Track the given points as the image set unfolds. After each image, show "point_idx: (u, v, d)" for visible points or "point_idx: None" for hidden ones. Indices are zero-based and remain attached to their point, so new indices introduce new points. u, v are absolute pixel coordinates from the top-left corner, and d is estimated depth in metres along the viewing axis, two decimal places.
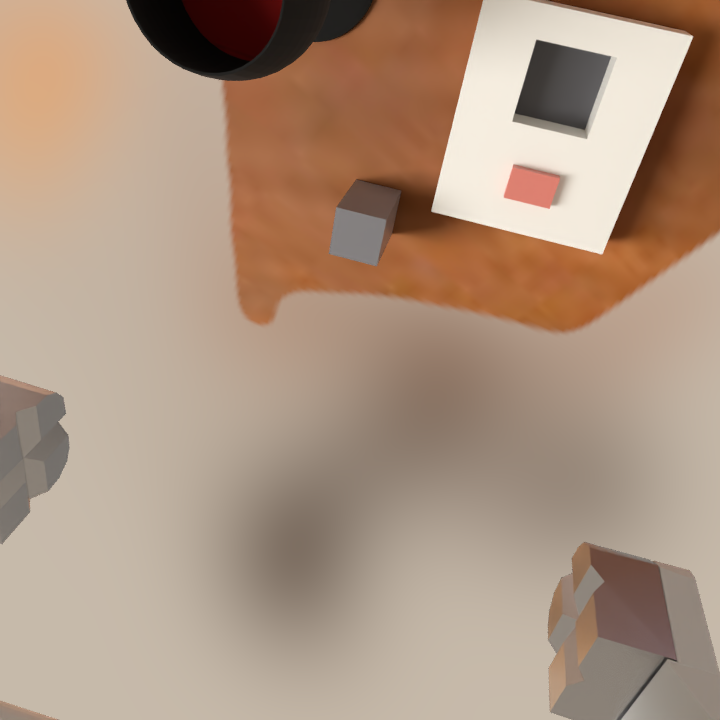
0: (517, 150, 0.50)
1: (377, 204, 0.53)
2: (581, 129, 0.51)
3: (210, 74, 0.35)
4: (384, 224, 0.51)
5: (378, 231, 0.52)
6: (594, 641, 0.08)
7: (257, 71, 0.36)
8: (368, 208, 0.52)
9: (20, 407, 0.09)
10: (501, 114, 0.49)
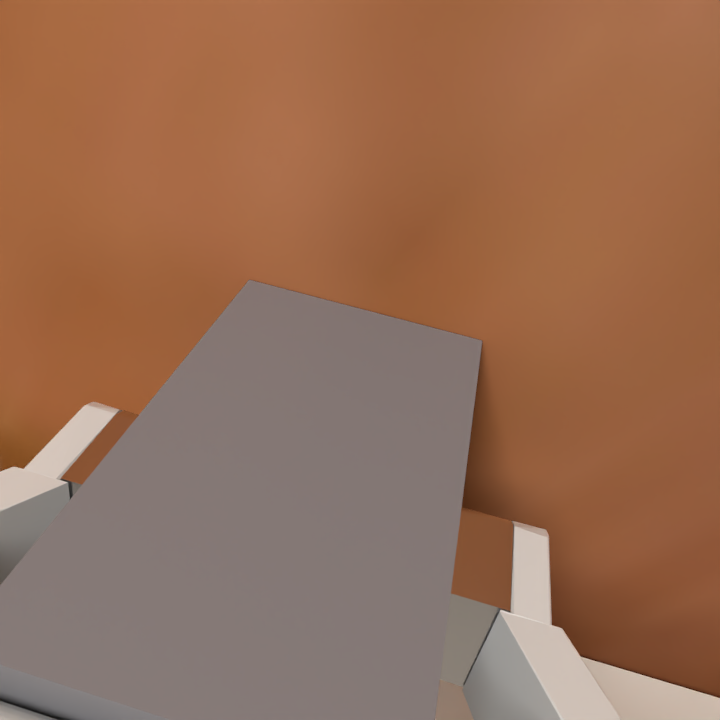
0: None
1: None
2: None
3: None
4: None
5: None
6: None
7: None
8: None
9: None
10: None
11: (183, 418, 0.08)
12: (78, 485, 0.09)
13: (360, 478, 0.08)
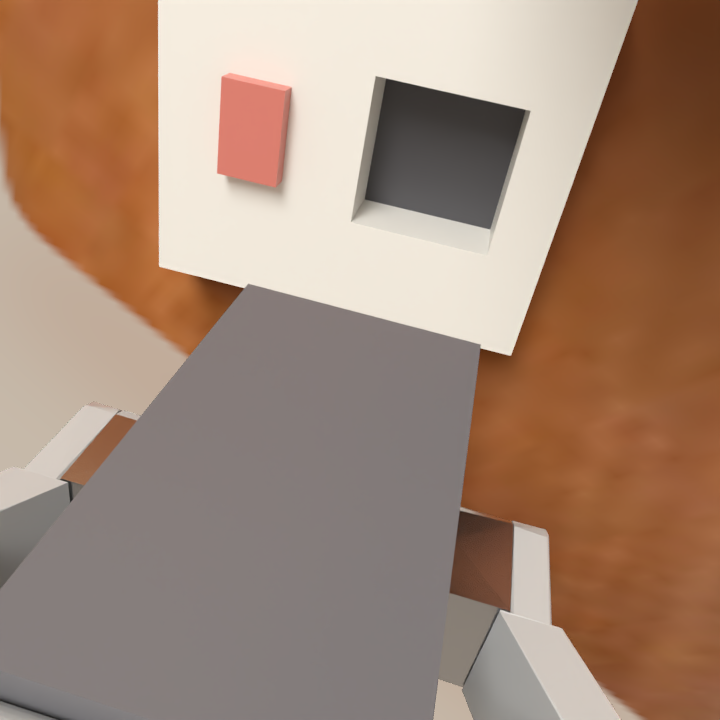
0: (319, 93, 0.24)
1: None
2: (365, 194, 0.29)
3: None
4: None
5: None
6: None
7: None
8: None
9: None
10: (388, 51, 0.23)
11: (182, 423, 0.08)
12: (78, 485, 0.09)
13: (359, 483, 0.08)
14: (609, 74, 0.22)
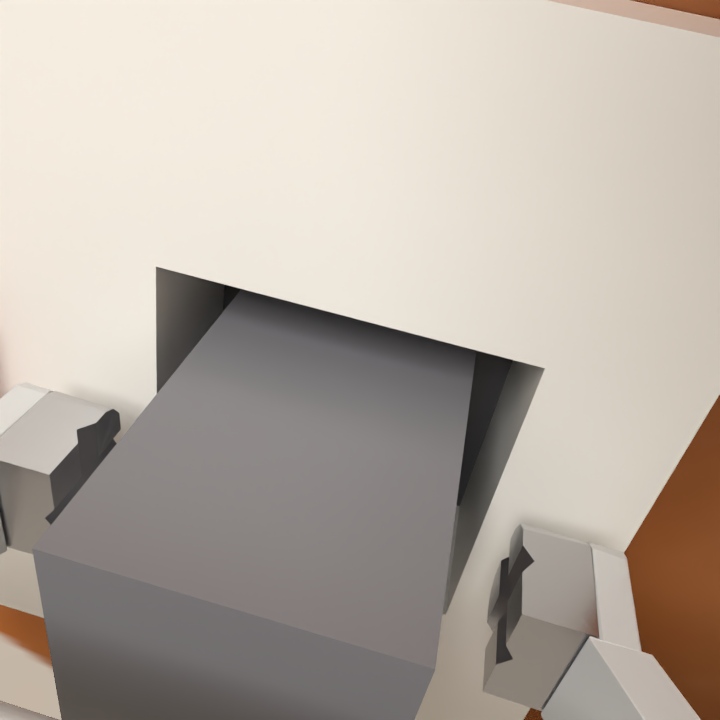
0: (37, 293, 0.10)
1: None
2: None
3: None
4: None
5: None
6: (519, 618, 0.08)
7: None
8: None
9: (80, 424, 0.09)
10: (177, 213, 0.09)
11: (215, 373, 0.09)
12: None
13: (374, 424, 0.09)
14: None
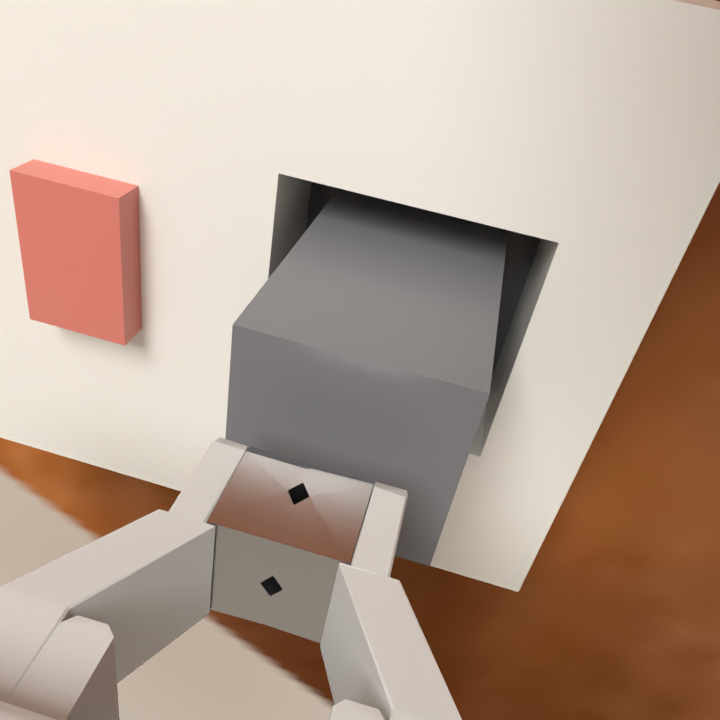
0: (185, 197, 0.14)
1: None
2: None
3: None
4: (408, 556, 0.12)
5: None
6: (278, 547, 0.08)
7: None
8: None
9: (289, 484, 0.09)
10: (298, 132, 0.13)
11: (323, 246, 0.13)
12: (225, 528, 0.08)
13: (437, 279, 0.12)
14: (712, 186, 0.12)
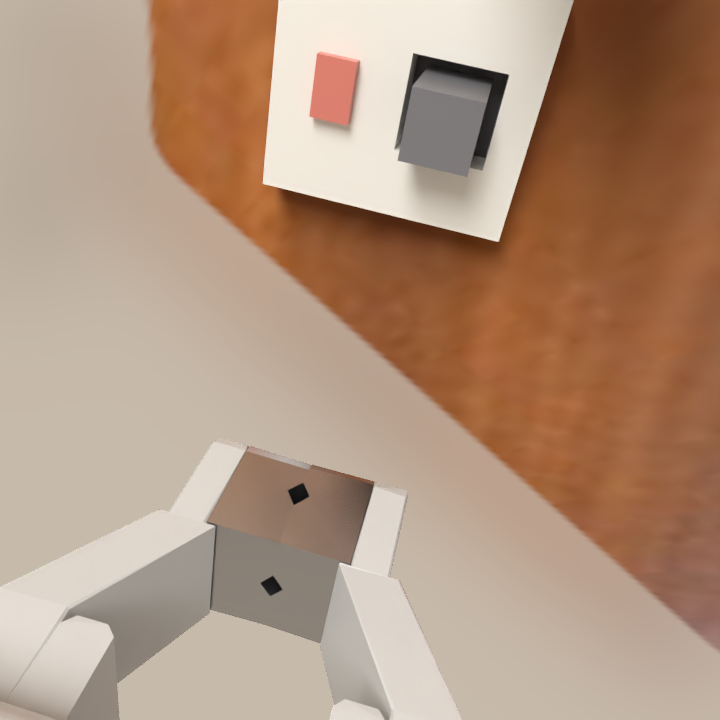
0: (377, 64, 0.39)
1: None
2: (402, 134, 0.43)
3: None
4: (460, 173, 0.37)
5: (450, 164, 0.37)
6: (277, 547, 0.08)
7: None
8: None
9: (289, 484, 0.09)
10: (421, 37, 0.38)
11: (429, 77, 0.38)
12: (225, 528, 0.08)
13: (469, 86, 0.38)
14: (556, 51, 0.37)
